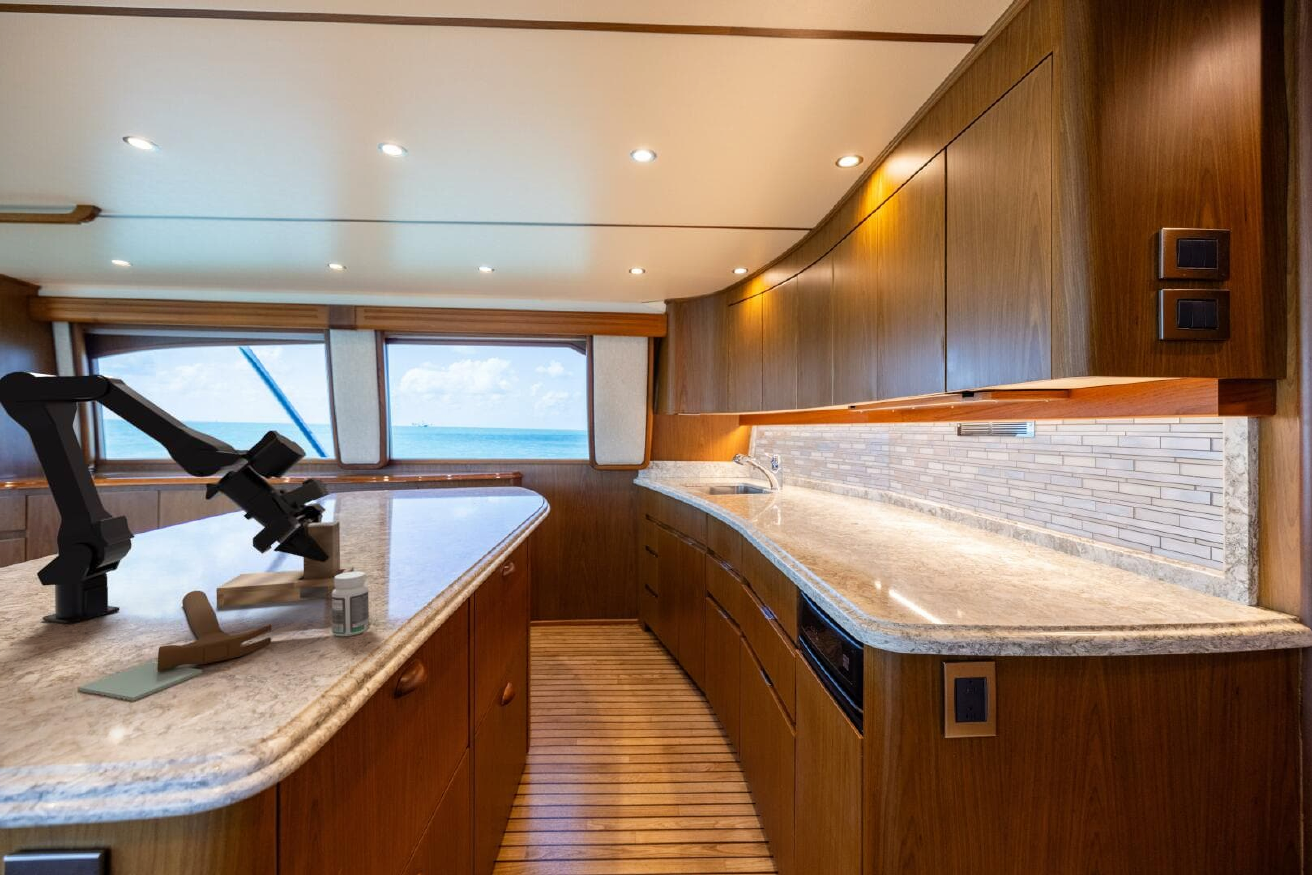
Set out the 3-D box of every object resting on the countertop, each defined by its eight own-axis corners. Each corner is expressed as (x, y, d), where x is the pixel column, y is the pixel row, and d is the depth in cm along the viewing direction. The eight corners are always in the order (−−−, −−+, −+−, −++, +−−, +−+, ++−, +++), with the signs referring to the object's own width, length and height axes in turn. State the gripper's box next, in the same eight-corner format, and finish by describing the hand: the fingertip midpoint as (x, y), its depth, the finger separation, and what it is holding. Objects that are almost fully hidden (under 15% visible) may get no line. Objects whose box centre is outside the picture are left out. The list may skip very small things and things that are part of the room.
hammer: (157, 614, 86) (156, 675, 64) (158, 594, 86) (158, 648, 64) (248, 602, 94) (275, 653, 72) (249, 584, 94) (277, 630, 72)
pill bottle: (372, 624, 82) (371, 569, 82) (364, 635, 78) (363, 577, 78) (337, 627, 81) (337, 571, 81) (327, 639, 77) (327, 580, 76)
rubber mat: (77, 690, 61) (77, 687, 61) (149, 664, 68) (149, 661, 68) (133, 700, 59) (133, 697, 59) (202, 673, 66) (202, 669, 66)
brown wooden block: (303, 596, 93) (303, 527, 93) (312, 588, 97) (311, 522, 97) (333, 593, 94) (332, 525, 94) (340, 586, 99) (339, 521, 98)
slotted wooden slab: (215, 613, 87) (215, 589, 87) (241, 596, 96) (241, 574, 96) (340, 603, 92) (340, 580, 92) (353, 587, 101) (353, 566, 101)
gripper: (275, 468, 85) (353, 533, 89) (312, 461, 103) (376, 515, 107) (216, 519, 83) (298, 584, 87) (265, 503, 101) (332, 557, 105)
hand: (330, 556), depth 96 cm, fingers closed on brown wooden block, 4 cm apart
